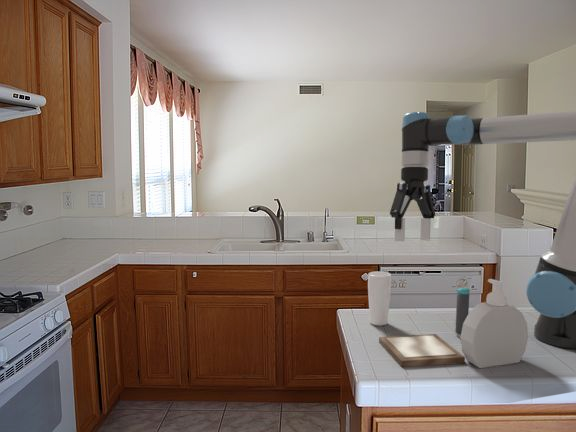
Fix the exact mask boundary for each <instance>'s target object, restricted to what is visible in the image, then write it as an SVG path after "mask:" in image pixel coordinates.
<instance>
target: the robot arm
mask: <svg viewBox="0 0 576 432" xmlns="http://www.w3.org/2000/svg"><path fill="white" fill-rule="evenodd" d="M402 117H403V118H402V127H401V133H402V134H401V167H402V168H401V170H400V180H401V181H402V182H397V186H396V192H395V195H394V198H393V202H392V205H391V207H390V211H389V215H390V216H391V218H394V242H405V240H406V239H405V236H406V235H405V233H406V232H405V231H406V217H404V216H405V214H406V212H407V210H408V208H409V206H410V203H411V202H412V201H413V200H414V201H415V202H416V203H417V206H418V209H419V210H420V214H421V215H422V218H421V217H420V241H431V219H435V216H436V211H435V207H434V202H433V198H432V193H431V185H430V184H424V183H425V182H427V181H428V180H429V178H428V177H429V169H428V166H429V147H430V146H442V145H444V146H446V145H454V146H455V145H456V146H457V145H458V146H459V145H460V146H474V145H490V144H491V145H494V144H515V143H516V144H517V143H541V142H544V143H545V142H562V141H563V142H565V141H576V110H569V111H557V112H556V111H555V112H544V113H532V114H530V113H529V114H518V115H507V116H506V115H505V116H504V115H503V116H495V117H478V118H477V117H476V118H471V117H470V116H468V115H453V116H445V117H436V118H430V114H429V113H428V112H425V111H411V112H408V113H405V114H404V115H403V116H402ZM525 291H526V297H527V300H528V302H529V304H530V306H531V307H532V308H533V309H535V311H536V312H538V313H539V316H538V318H537V321H536V324H535V325H534V329H533V336H534V337H535V338H536V339H537V340H538V341H541V342H542V343H546V344H548V345H551V346H554V347H555V346H556V347H560V348H565V349H575V350H576V173H575V174H574V177H573V180H572V184H571V186H570V189H569V193H568V196H567V198H566V202H565V204H564V208H563V210H562V213H561V217H560V219H559V222H558V225H557V228H556V231H555V234H554V237H553V240H552V243H551V246H550V249H549V250H548V251H546V252H544V253H541V255H540V258H539V261H538V264H537V266H536V270H535V273H534V274H533V275H532V276H531V277H530V279H529V280H528V282H527V285H526V290H525Z"/></svg>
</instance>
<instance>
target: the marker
mask: <svg viewBox="0 0 576 432" xmlns="http://www.w3.org/2000/svg"><path fill="white" fill-rule="evenodd" d="M470 293H471V292H470V289H469V288H468V287H458V288H457V289H456V307H455V308H456V310H455V311H456V312H455V328H454V330H455V334H456V335H455V337H457V338H459V339H460V337H461V332H462V327H463V323H464V321H465V319H466V317H467V316H468V314H469V312H470Z"/></svg>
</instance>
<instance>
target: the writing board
mask: <svg viewBox="0 0 576 432" xmlns="http://www.w3.org/2000/svg"><path fill="white" fill-rule="evenodd" d="M378 344H380V346H382V348H383V349H384V350H385V351H386V352H387V353H388V355H390V356H391V357H392V359H394V361H395V362H396V363H397V364H398V365H399V366H400V367H401V368H407V367H421V366H422V367H423V366H436V365H437V366H439V365H452V364H453V365H454V364H455V365H456V364H465V360H466V358H465V356H464V354H462V353H460V351H458V350H457V349H455V348H454V347H453V346H452V345H450V344H449V343H448V342H447V341H445V340H444V339H443V338H441V337H440V336H439V335H438V334H436V333H431V334H430V333H429V334H411V335H391V336H379V337H378Z"/></svg>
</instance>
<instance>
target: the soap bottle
mask: <svg viewBox="0 0 576 432" xmlns="http://www.w3.org/2000/svg"><path fill="white" fill-rule="evenodd" d="M487 283H490V284H492V285H491V286H492V287H491V288H492V289H491V292H489V293H488V294H487V295H486V301H484V302H478V304H476V305H475V306H474V307H473V308H472V309H471V310H469V314H468V316H467V317H466V319H465V321H464V323H463V327H462V332H461V337H460V338H459V339H460V346H461V352H462V353H463V354H462V355H463V356H464V357H465V360H466V361H467V362H469V363H471V364H473V365H474V366H475V367H477V368H478V369H484V368H493V367H499V366H506V365H511V364H519V363H520V361H521V360H522V357H523V356H524V355H525V352H526V349H527V345H528V341H529V331H528V323H527V320H526V319H525V316H524V314H523V312H522V311H520V309H518V308H517V307H515V306H514V305H512V304H509V303H507V296H506V295H505V294H504V293H502V290H503V281H501V280H497V279H493V278H488V279H487Z"/></svg>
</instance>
